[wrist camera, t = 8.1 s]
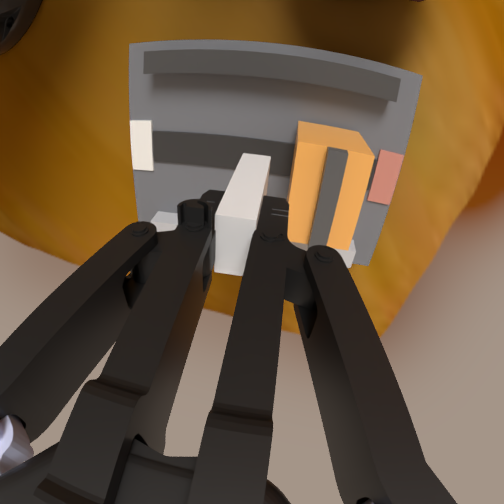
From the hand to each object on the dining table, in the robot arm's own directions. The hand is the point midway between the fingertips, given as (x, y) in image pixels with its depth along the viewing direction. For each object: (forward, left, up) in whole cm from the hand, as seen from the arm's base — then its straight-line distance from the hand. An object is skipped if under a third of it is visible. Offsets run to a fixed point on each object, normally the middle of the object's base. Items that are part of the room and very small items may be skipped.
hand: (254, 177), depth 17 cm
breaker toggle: (+4, 0, -4) cm, 6 cm away
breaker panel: (0, 0, -9) cm, 9 cm away
